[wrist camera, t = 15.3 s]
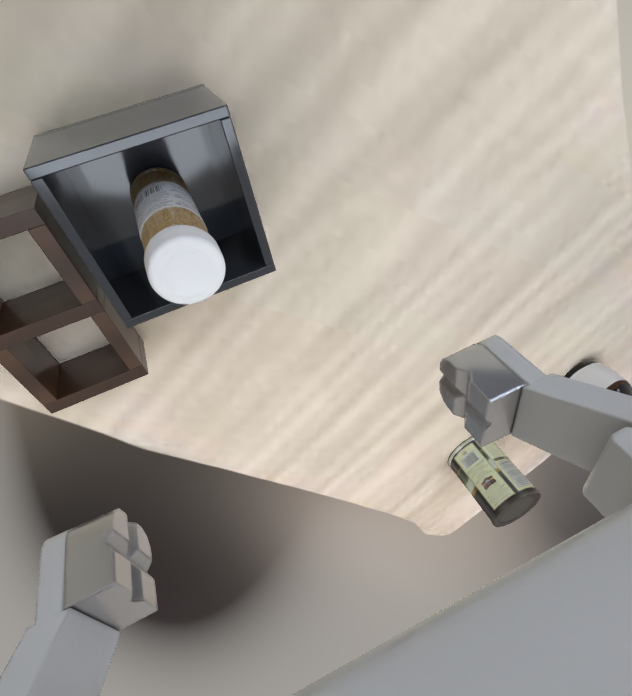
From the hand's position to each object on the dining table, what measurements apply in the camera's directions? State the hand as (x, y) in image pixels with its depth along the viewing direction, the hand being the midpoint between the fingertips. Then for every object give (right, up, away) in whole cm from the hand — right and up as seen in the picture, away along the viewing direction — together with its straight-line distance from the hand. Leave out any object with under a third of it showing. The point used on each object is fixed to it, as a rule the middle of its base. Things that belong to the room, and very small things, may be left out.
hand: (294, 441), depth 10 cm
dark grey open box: (-12, +15, +25) cm, 31 cm away
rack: (-22, +7, +26) cm, 35 cm away
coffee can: (+32, -19, +78) cm, 86 cm away
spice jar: (-12, +15, +24) cm, 31 cm away
